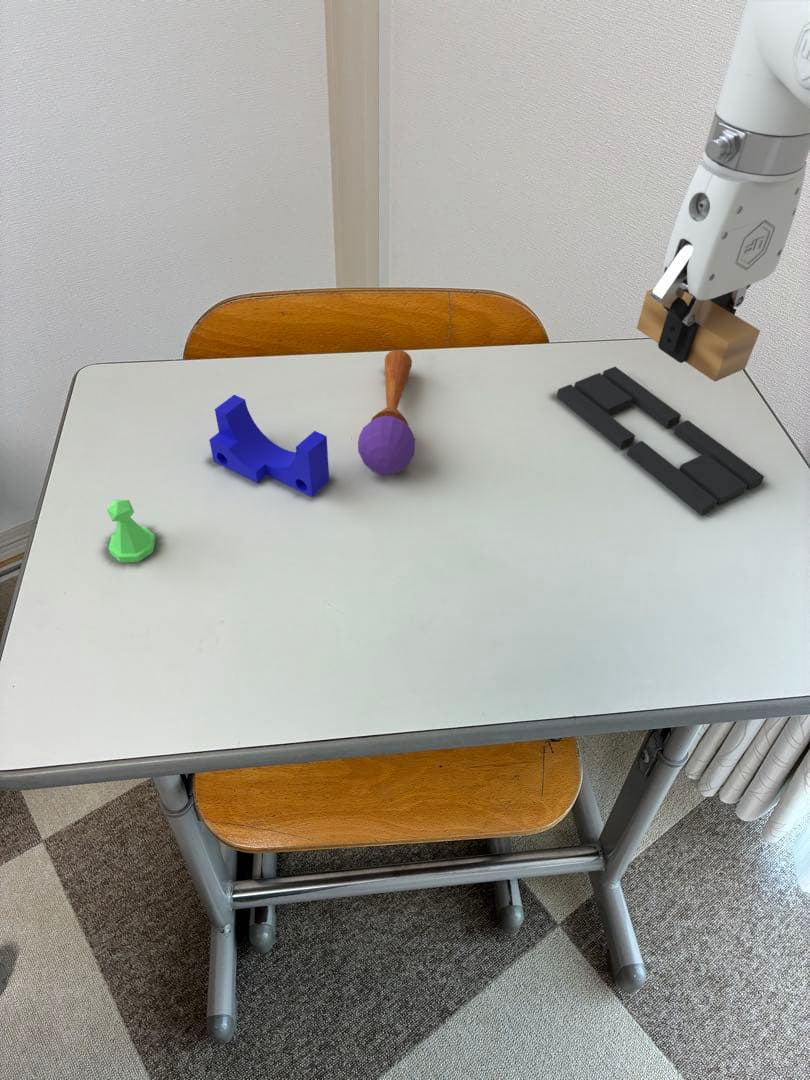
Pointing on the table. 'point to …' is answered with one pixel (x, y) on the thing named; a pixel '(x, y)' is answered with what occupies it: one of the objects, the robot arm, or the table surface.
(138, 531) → the game piece
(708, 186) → the robot arm
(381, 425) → the kendama
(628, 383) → the pad
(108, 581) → the table surface
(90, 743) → the table surface
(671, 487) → the pad
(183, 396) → the table surface
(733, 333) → the block
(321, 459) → the blue cradle bracket
